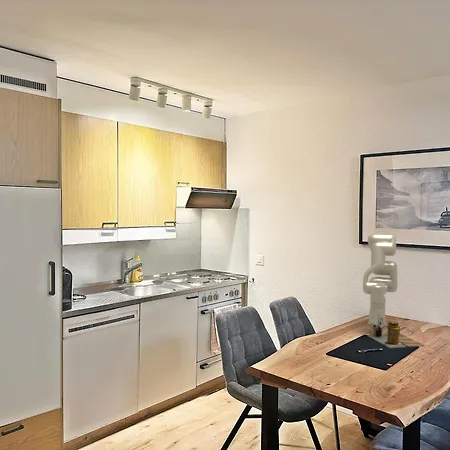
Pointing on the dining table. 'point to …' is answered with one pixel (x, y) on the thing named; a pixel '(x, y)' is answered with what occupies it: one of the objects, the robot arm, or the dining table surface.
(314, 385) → the dining table surface
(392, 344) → the condiment
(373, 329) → the strip
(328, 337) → the dining table surface
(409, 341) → the strip empty
